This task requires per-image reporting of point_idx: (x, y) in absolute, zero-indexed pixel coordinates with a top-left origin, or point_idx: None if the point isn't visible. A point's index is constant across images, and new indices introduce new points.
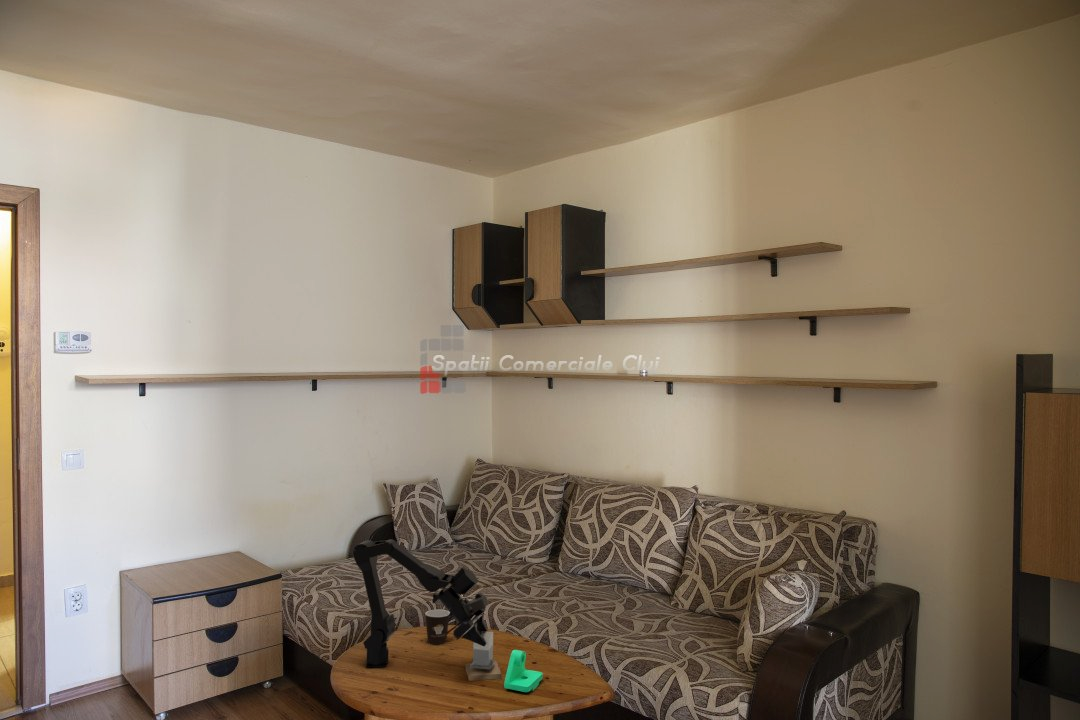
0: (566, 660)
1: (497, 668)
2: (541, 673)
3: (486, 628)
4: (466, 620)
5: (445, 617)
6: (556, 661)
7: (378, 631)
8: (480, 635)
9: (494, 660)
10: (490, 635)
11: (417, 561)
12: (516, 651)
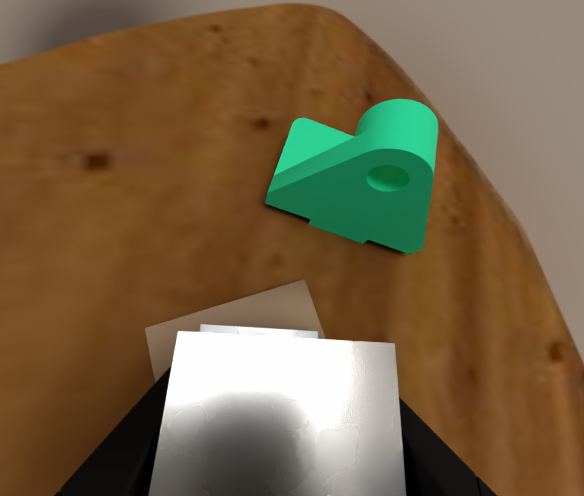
0: (76, 50)
1: (244, 306)
2: (305, 121)
3: (84, 475)
4: None
5: None
6: (87, 83)
7: None
8: (452, 473)
9: (212, 327)
10: (318, 343)
11: None
12: (423, 137)
